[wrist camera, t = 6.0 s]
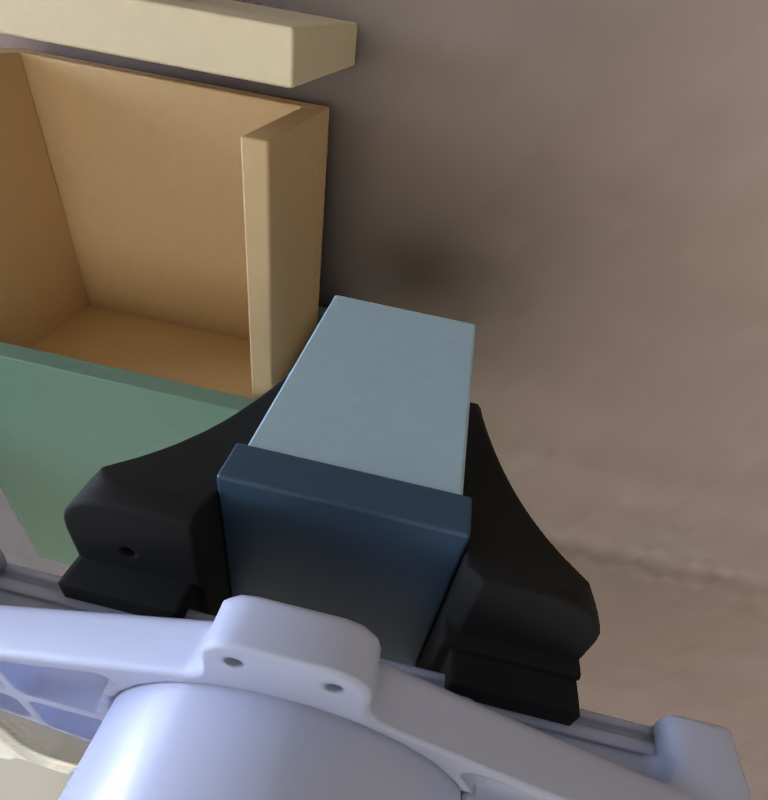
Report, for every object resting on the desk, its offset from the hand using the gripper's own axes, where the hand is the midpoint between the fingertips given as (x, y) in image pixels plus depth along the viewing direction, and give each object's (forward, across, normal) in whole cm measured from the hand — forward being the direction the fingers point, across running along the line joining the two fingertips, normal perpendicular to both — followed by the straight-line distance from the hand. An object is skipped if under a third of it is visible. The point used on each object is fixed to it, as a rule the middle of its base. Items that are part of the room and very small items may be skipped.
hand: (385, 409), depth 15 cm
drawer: (+8, +10, -4) cm, 14 cm away
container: (+1, 0, 0) cm, 1 cm away
